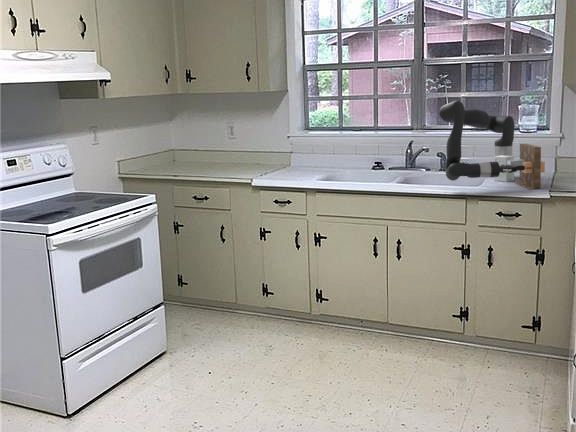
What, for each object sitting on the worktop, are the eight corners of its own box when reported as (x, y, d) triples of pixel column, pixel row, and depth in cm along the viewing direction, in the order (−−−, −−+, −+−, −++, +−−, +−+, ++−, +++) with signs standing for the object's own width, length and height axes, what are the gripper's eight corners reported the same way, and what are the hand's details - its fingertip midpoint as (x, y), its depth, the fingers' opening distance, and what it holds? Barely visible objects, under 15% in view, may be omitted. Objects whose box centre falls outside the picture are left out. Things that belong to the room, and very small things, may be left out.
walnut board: (514, 183, 336) (514, 144, 332) (525, 182, 336) (525, 143, 332) (528, 189, 316) (529, 147, 312) (540, 188, 316) (540, 147, 312)
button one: (507, 169, 333) (507, 160, 332) (525, 168, 332) (525, 158, 331) (510, 171, 327) (510, 161, 326) (528, 170, 327) (529, 160, 326)
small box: (514, 180, 345) (514, 155, 343) (506, 182, 342) (506, 157, 340) (502, 179, 352) (502, 155, 350) (493, 180, 349) (493, 156, 346)
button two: (522, 172, 322) (522, 161, 321) (540, 171, 321) (541, 160, 320) (526, 173, 316) (526, 163, 315) (544, 172, 316) (545, 162, 315)
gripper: (492, 163, 312) (528, 161, 312) (484, 160, 325) (519, 158, 325) (492, 179, 313) (528, 177, 313) (484, 175, 326) (519, 173, 326)
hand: (524, 167), depth 319 cm, fingers closed
